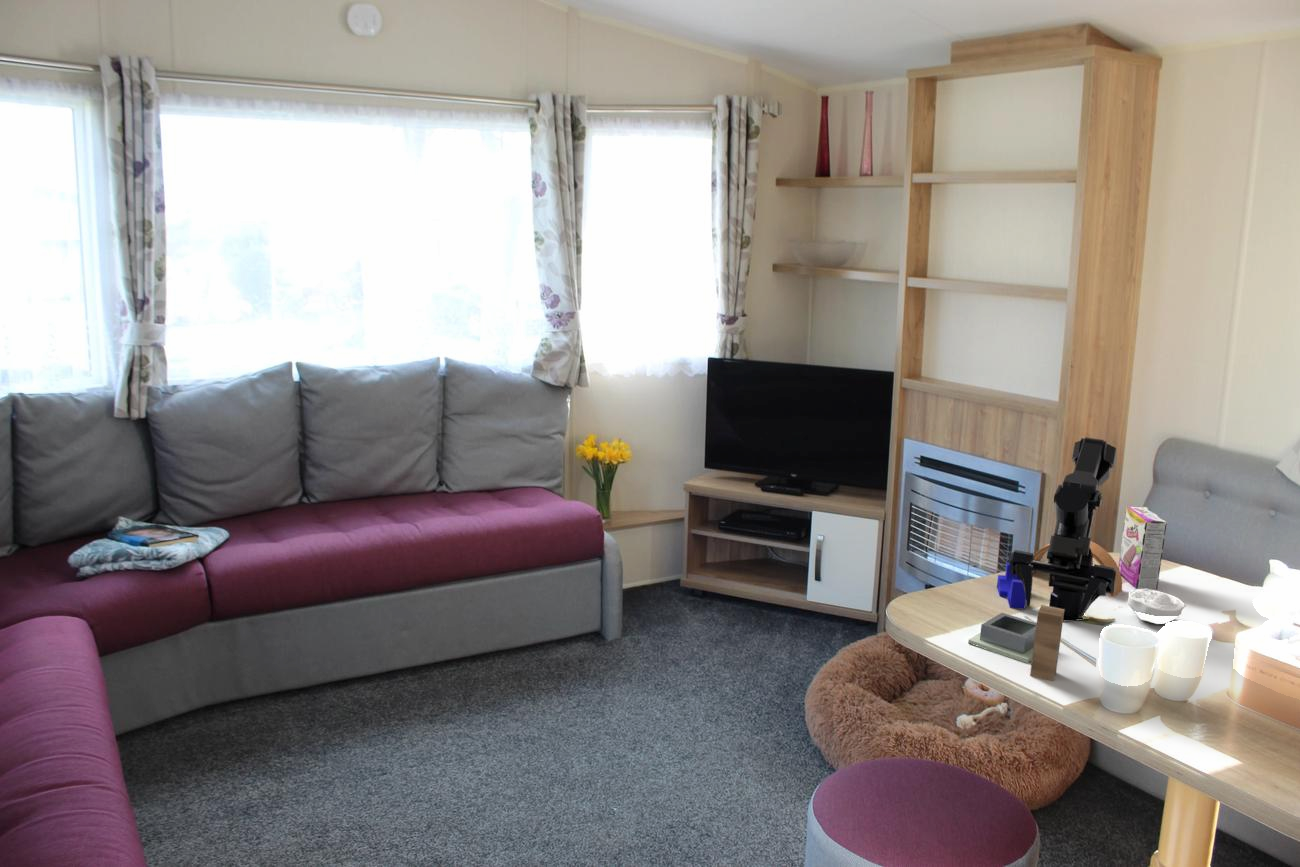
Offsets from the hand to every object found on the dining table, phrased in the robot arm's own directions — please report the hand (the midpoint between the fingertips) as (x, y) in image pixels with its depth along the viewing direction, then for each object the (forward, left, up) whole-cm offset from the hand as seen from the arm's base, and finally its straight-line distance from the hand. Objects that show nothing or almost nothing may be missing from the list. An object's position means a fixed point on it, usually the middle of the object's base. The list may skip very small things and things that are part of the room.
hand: (1053, 611), depth 203 cm
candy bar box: (-46, -38, -11) cm, 61 cm away
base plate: (+2, -10, -11) cm, 15 cm away
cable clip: (-11, -33, -11) cm, 36 cm away
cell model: (-35, -17, -11) cm, 40 cm away
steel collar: (+2, -10, -11) cm, 15 cm away
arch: (-31, -39, -11) cm, 52 cm away
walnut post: (+3, +3, -11) cm, 12 cm away
